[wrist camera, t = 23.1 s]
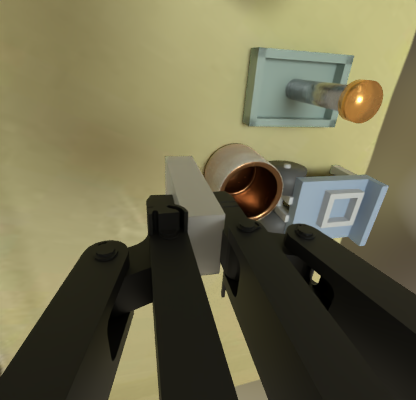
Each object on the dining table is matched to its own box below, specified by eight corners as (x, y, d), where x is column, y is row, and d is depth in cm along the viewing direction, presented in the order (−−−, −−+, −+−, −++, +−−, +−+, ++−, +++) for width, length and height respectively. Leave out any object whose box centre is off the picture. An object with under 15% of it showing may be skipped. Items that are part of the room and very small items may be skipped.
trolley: (251, 222, 56) (277, 259, 45) (261, 158, 49) (294, 184, 39) (323, 216, 60) (362, 249, 49) (341, 156, 53) (391, 180, 43)
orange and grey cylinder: (279, 103, 44) (342, 122, 31) (284, 73, 42) (354, 79, 29) (303, 104, 45) (374, 123, 32) (310, 74, 43) (388, 81, 30)
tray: (242, 122, 45) (249, 126, 43) (251, 48, 40) (259, 47, 38) (324, 123, 49) (334, 127, 46) (341, 55, 44) (354, 55, 41)
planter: (232, 129, 45) (253, 145, 37) (270, 166, 51) (296, 187, 42) (191, 176, 48) (202, 201, 39) (231, 207, 53) (249, 234, 44)
